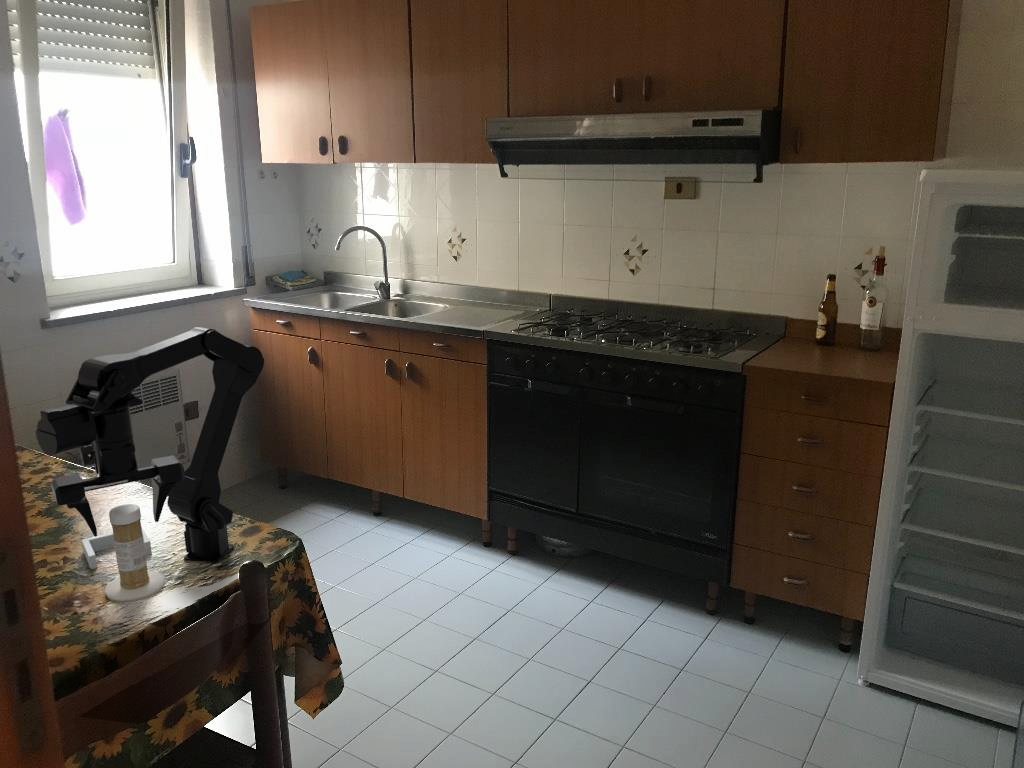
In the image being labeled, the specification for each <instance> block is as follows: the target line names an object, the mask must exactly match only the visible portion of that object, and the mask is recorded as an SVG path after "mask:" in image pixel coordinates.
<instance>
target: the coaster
mask: <svg viewBox="0 0 1024 768" xmlns="http://www.w3.org/2000/svg"><path fill="white" fill-rule="evenodd" d="M147 571H148V576H149V582H148V583H147V584H145V585H144V586H142V587H139V588H135V589H125V588H123V587H121V586H120V575H119V576H118V577H115V578H114V579H112V580H110V582H109V583H107V585H106V586H105V588H104V589H105V597H106V598H107V599H108V600H109V601H113V602H117V603H130V602H137V601H140V600H144V599H147V598H149V597H152V596H153V595H156V594H158V593H159V592H160V591H161V590H162V589H163V588H164V586H165V585H166V581H165V580H166V579H165V575H164V574H163V573H161V572H160V571H156V570H147Z"/></svg>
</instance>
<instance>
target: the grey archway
mask: <svg viewBox="0 0 1024 768" xmlns="http://www.w3.org/2000/svg"><path fill="white" fill-rule="evenodd" d="M141 528H142V526H141ZM142 534H143V538H144V545H145V552H146V556H149V555H152V554H153V553H152V544H151V540H150V539H149V537H148V535H147V533H146V532H145V531H144V529H143V528H142ZM81 545H82V551H83V554H84V556H85V559H86V561H87V563H88V566H89V568H90V570H95V569H98V563H97V557H96V554H95V553H96V552H100V551H103V550H107V549H112V548H115V545H114V536H113V531H112V532H108V533H104V534H100V535H97V536H96V537H95V536H92V537H88V538H83V539H81Z"/></svg>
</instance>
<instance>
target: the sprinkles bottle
mask: <svg viewBox="0 0 1024 768" xmlns="http://www.w3.org/2000/svg"><path fill="white" fill-rule="evenodd" d="M108 516H109V522H110V525H111V528H112V532H113V536H114V545H115V547H114V551H115V557H116V563H117V564H116V565H117V569H118V575H119V576H120V586H121V587H123V588H125V589H135V588H139V587H142V586H144V585H145V584H147V583H148V582H149V576H148V571H149V570H148V565H147V564H148V561H147V555H146V552H145V545H144V538H143V534H142V529H143V528H141V527H142V522H141V519H142V513H141V509H140V506H139V505H138V504H135V503H125V504H121V505H116V506H115V507H112V508H111V509H110V510H109V512H108Z"/></svg>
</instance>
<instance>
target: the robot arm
mask: <svg viewBox="0 0 1024 768" xmlns="http://www.w3.org/2000/svg"><path fill="white" fill-rule="evenodd" d="M200 356H203V357H204V358H206V359H208V360H210V361H211V362H213V365H212V370H211V371H212V376H213V384H214V390H213V395H212V396H211V397H212V398H211V401H210V403H209V407H208V410H207V412H206V416H205V418H204V422H203V425H202V428H201V431H200V435H199V437H198V440H197V443H196V447H195V450H194V452H193V456H192V458H191V462H190V464H189V466H188V467H187V469H186V470H185V468H184V465H183V463H182V462H181V461H180V460H179V459H178V458H177V456H175V455H173V454H171V455H167V456H162V457H156V458H151V460H150V466H145V467H140V468H139V467H138V466H139V465H138V459H137V453H136V444H135V443H136V442H135V437H134V429H133V428H134V427H133V421H132V414H131V408H132V407H136V406H139V405H142V404H143V400H142V399H140V398H139V397H137V396H136V395H134V393H132V392H133V391H134V390H136V389H137V388H139V387H140V386H141V385H142V383H143V382H145V380H146V379H148V378H150V377H151V376H153V375H155V374H158V373H160V372H164V371H165V370H167V369H168V370H169V369H170V368H172V367H175V366H177V365H180V364H182V363H185V362H188V361H190V360H192V359H194V358H197V357H200ZM264 365H265V357H263V353H262V352H261V350H260V349H259V348H258V347H256V346H254V345H253V346H252V345H248V344H247V345H246V344H243V343H240V342H239V341H236V340H234V339H232V338H230V337H228V336H225V335H224V334H222V333H221V332H219V331H217V330H216V329H214V328H208V327H201V326H196V327H193V328H191V329H189V331H186V332H183V333H181V334H178V335H175V336H173V337H170V338H167V339H165V340H162V341H159V342H157V343H155V344H151V345H148V346H145V347H143V348H140V349H138V350H135V351H131V352H126V353H115V354H106V355H100V356H96V357H90V358H88V359H86V360H84V362H82V363H81V364H80V369H79V370H78V375H77V378H76V381H75V383H74V385H73V387H72V388H71V390H70V392H69V395H68V396H67V398H66V400H65V404H66V405H64V406H60V407H55V408H47V409H43V410H40V412H39V413H40V419H39V420H38V421H37V423H36V424H37V425H36V430H35V436H36V439H37V443H38V445H39V448H40V449H41V450H42V452H43V453H44V454H45V455H46V456H48V457H54V456H56V455H61V454H64V453H68V452H71V451H75V450H77V449H79V455H80V459H81V460H80V461H81V465H82V467H88V466H93V465H94V470H95V471H94V472H95V474H98V476H95V477H90V478H89V477H88V478H84V479H82V478H81V476H80V474H79V473H75V474H69V475H64V476H58V477H54V478H53V479H52V480H51V485H50V486H51V491H52V496H53V498H54V500H55V502H56V505H57V506H65V505H66V508H67V509H76V511H77V512H78V514H79V515H81V516H82V518H83V519H84V521H85V523H86V524H87V526H88V528H89V529H90V531H91V533H92V534H93V537H96V536H98V529H97V525H96V523H95V518H94V515H93V512H92V508H91V505H90V502H89V500H88V498H87V496H86V492H91V491H96V490H101V489H104V488H105V489H106V488H110V487H115V486H121V485H124V484H129V483H134V482H139V481H144V480H149V479H151V486H152V513H153V518H154V519H153V520H154V522H155V523H158V522H159V521H160V519H161V515H162V511H163V508H164V505H165V502H166V499H167V507H168V508H169V511H170V512H171V514H173V515H175V516H176V517H177V518H178V520H179V521H180V522H181V523H185V524H184V526H185V530H184V531H183V535H184V543H185V544H184V545H185V551H186V553H187V554H185V555H184V556H183V560H184V561H191V562H202V563H203V562H204V563H215V564H216V563H218V562H220V560H221V559H222V558H224V557H225V556H226V555H227V554H228V553H229V552H230V551H231V550H233V549H234V548H235V546H234V544H233V543H229V542H230V541H229V536H228V535H229V533H228V526H227V525H230V524H232V521H233V515H234V511H233V510H232V509H230V508H228V507H226V506H225V505H223V504H221V503H220V502H221V501H220V500H221V495H222V487H221V482H220V475H219V474H220V470H221V467H222V463H223V459H224V457H225V455H226V450H227V447H228V445H229V440H230V438H231V435H232V431H233V429H234V426H235V424H236V423H235V422H236V420H237V416H238V413H239V410H240V407H241V403H242V400H243V398H244V396H245V395H246V394H247V393H248V392H249V391H250V390H252V388H253V387H254V386H255V385H256V384H257V382H258V379H259V377H260V375H261V373H262V371H263V369H264ZM89 395H95V396H97V397H96V398H95V397H92V396H89ZM91 444H94V445H91Z"/></svg>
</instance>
